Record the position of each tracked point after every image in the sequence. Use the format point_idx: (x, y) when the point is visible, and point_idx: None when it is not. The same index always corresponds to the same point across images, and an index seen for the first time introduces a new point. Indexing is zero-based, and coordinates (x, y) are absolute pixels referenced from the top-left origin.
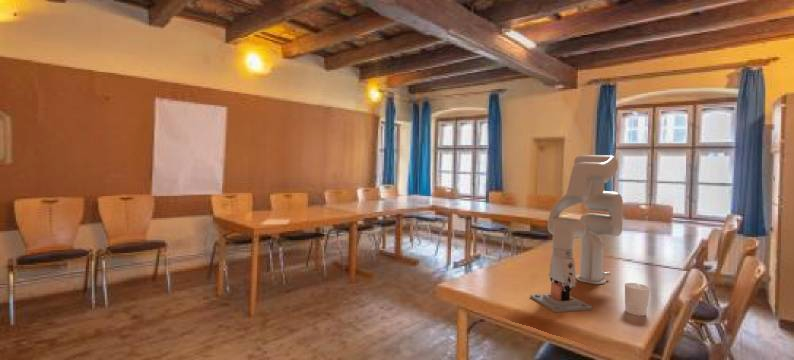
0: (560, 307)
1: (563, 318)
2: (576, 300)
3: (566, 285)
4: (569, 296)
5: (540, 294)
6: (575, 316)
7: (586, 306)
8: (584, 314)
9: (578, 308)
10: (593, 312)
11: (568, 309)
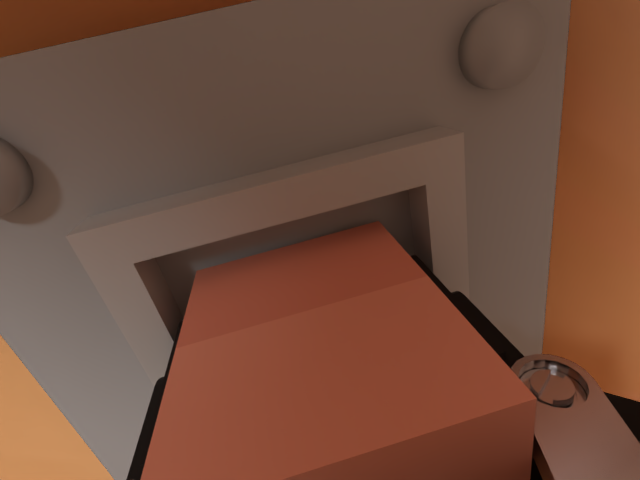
0: None
1: (626, 366)
2: (446, 153)
3: (445, 474)
4: (408, 265)
5: (105, 458)
6: (633, 269)
7: (548, 41)
8: (632, 161)
9: (549, 184)
10: (630, 4)
11: (539, 299)
